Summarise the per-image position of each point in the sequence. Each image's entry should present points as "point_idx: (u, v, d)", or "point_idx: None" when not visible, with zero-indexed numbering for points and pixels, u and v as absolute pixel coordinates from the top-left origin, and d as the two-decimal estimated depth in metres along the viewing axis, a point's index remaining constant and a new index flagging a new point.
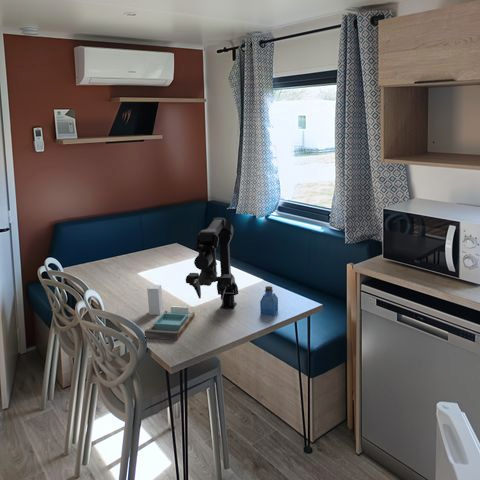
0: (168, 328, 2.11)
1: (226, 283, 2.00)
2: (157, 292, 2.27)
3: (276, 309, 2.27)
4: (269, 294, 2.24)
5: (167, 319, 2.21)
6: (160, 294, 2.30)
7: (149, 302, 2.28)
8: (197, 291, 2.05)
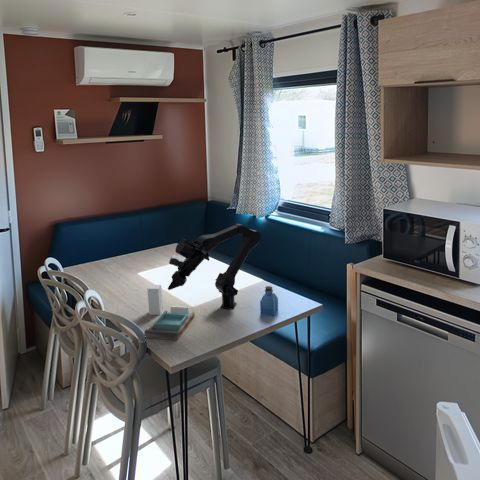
0: (168, 328, 2.11)
1: (173, 274, 2.17)
2: (157, 292, 2.27)
3: (276, 309, 2.27)
4: (269, 294, 2.24)
5: (167, 319, 2.21)
6: (160, 294, 2.30)
7: (149, 302, 2.28)
8: None
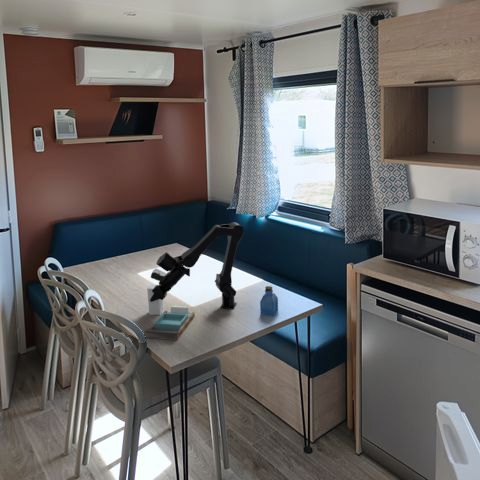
0: (168, 328, 2.11)
1: None
2: None
3: (276, 309, 2.27)
4: (269, 294, 2.24)
5: (167, 319, 2.21)
6: None
7: (149, 302, 2.28)
8: None
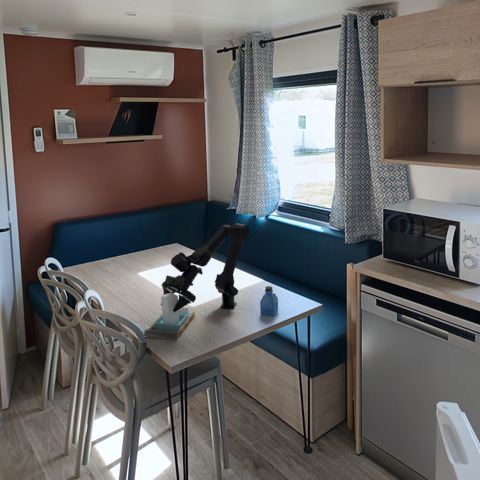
0: (168, 328, 2.11)
1: (183, 293, 2.09)
2: (177, 299, 2.14)
3: (276, 309, 2.27)
4: (269, 294, 2.24)
5: None
6: None
7: (169, 313, 2.12)
8: None
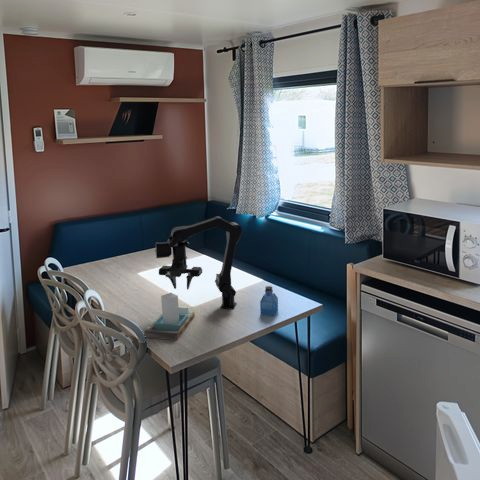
0: (168, 328, 2.11)
1: (194, 275, 2.22)
2: (177, 299, 2.14)
3: (276, 309, 2.27)
4: (269, 294, 2.24)
5: None
6: None
7: (169, 313, 2.12)
8: (172, 282, 2.28)
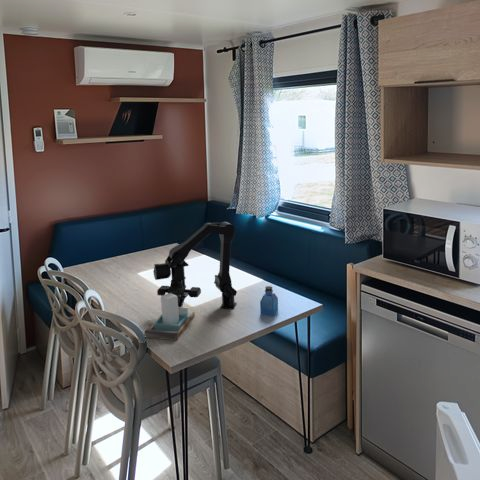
0: (168, 329, 2.11)
1: (193, 295, 2.21)
2: (176, 300, 2.13)
3: (276, 309, 2.27)
4: (269, 294, 2.24)
5: None
6: None
7: (169, 313, 2.12)
8: None
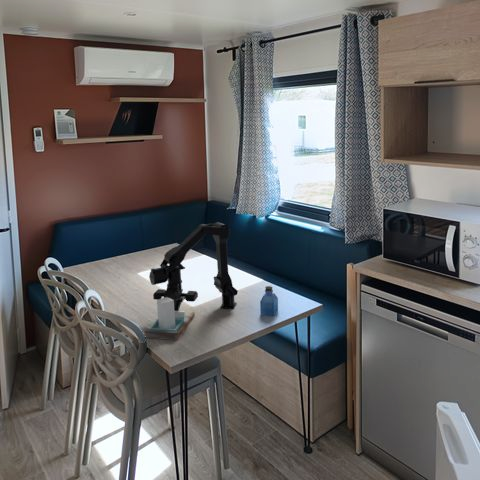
0: None
1: (190, 299, 2.17)
2: (173, 304, 2.09)
3: (276, 309, 2.27)
4: (269, 294, 2.24)
5: None
6: None
7: (165, 318, 2.08)
8: None
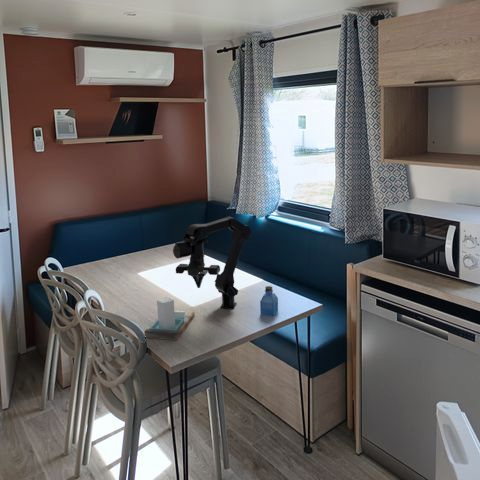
0: None
1: (212, 273, 2.18)
2: (173, 304, 2.09)
3: (276, 309, 2.27)
4: (269, 294, 2.24)
5: None
6: None
7: (165, 318, 2.08)
8: (196, 281, 2.22)
